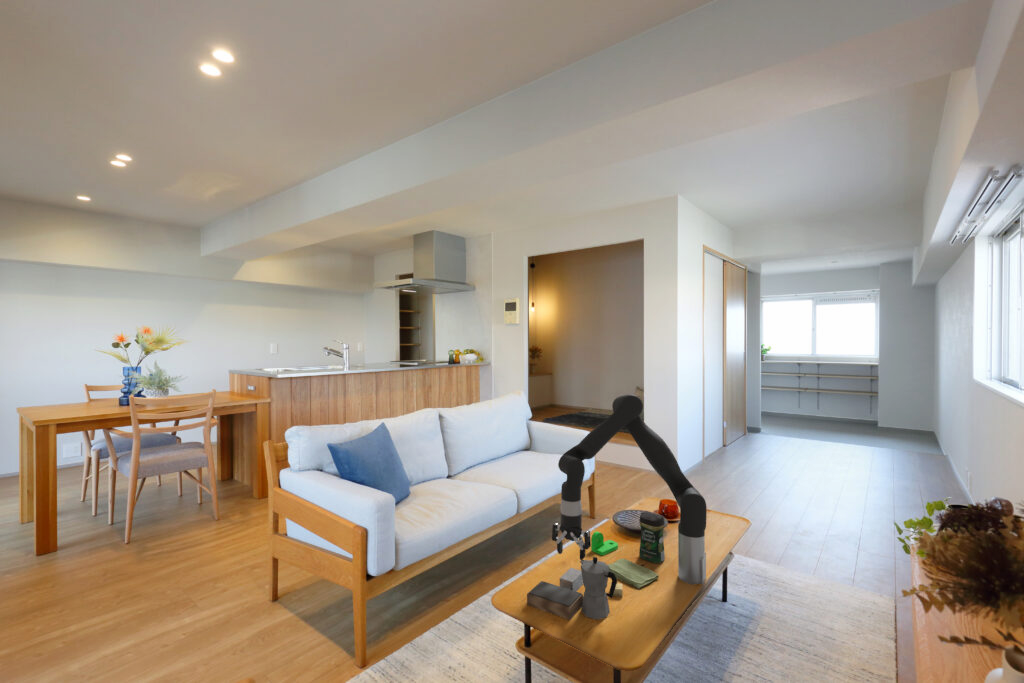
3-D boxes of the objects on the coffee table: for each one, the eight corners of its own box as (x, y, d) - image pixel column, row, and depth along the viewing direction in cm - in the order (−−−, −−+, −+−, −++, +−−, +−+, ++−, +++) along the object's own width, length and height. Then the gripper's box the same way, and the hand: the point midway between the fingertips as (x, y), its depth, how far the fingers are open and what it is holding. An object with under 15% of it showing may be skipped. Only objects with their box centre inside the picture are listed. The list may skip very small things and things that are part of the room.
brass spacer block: (622, 592, 167) (622, 583, 167) (622, 598, 163) (622, 589, 163) (610, 591, 167) (610, 582, 167) (610, 597, 164) (610, 588, 164)
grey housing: (585, 582, 173) (585, 568, 173) (570, 599, 162) (570, 584, 162) (573, 578, 176) (572, 565, 176) (557, 594, 165) (557, 580, 165)
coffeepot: (570, 608, 156) (570, 554, 156) (589, 598, 162) (589, 546, 162) (607, 630, 145) (606, 572, 144) (626, 618, 150) (625, 562, 150)
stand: (583, 605, 158) (582, 592, 158) (570, 620, 149) (570, 607, 149) (541, 592, 167) (541, 579, 167) (526, 605, 158) (526, 592, 158)
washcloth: (640, 592, 167) (640, 583, 167) (600, 573, 180) (600, 565, 180) (660, 580, 175) (660, 571, 175) (621, 563, 189) (621, 555, 189)
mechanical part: (602, 557, 194) (602, 537, 194) (591, 552, 198) (591, 533, 198) (620, 548, 201) (620, 530, 201) (609, 544, 206) (609, 525, 206)
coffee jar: (636, 558, 192) (636, 512, 192) (646, 551, 198) (645, 507, 197) (658, 566, 185) (657, 519, 185) (667, 559, 191) (667, 513, 191)
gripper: (593, 512, 168) (593, 557, 168) (558, 504, 176) (558, 547, 176) (585, 518, 162) (584, 565, 162) (548, 510, 170) (548, 555, 170)
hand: (570, 556), depth 169 cm, fingers open, 8 cm apart
